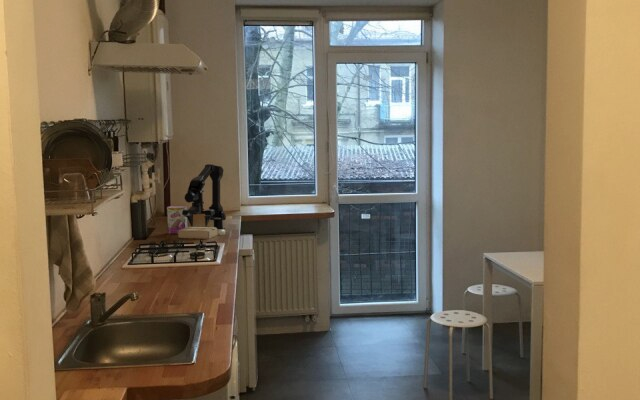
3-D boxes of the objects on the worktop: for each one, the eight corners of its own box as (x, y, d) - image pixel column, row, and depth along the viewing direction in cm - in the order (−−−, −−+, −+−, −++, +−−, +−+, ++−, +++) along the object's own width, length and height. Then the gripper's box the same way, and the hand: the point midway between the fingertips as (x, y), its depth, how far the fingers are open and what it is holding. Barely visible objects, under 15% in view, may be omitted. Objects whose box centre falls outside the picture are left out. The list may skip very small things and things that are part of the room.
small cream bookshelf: (187, 234, 404) (187, 226, 403) (218, 235, 398) (217, 227, 397) (177, 238, 392) (177, 230, 392) (209, 238, 387) (208, 230, 386)
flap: (188, 227, 403) (188, 226, 403) (216, 228, 398) (216, 227, 398) (184, 228, 398) (184, 227, 398) (212, 229, 393) (212, 228, 393)
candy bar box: (167, 234, 407) (166, 207, 405) (170, 232, 412) (169, 206, 410) (185, 234, 406) (184, 207, 404) (188, 232, 411) (186, 206, 409)
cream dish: (216, 233, 406) (216, 229, 406) (227, 233, 404) (226, 229, 404) (211, 235, 400) (211, 230, 399) (222, 235, 398) (222, 231, 397)
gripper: (176, 202, 389) (178, 228, 391) (206, 202, 384) (207, 229, 386) (186, 199, 400) (187, 225, 402) (214, 200, 395) (215, 226, 397)
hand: (199, 226), depth 396 cm, fingers open, 9 cm apart
